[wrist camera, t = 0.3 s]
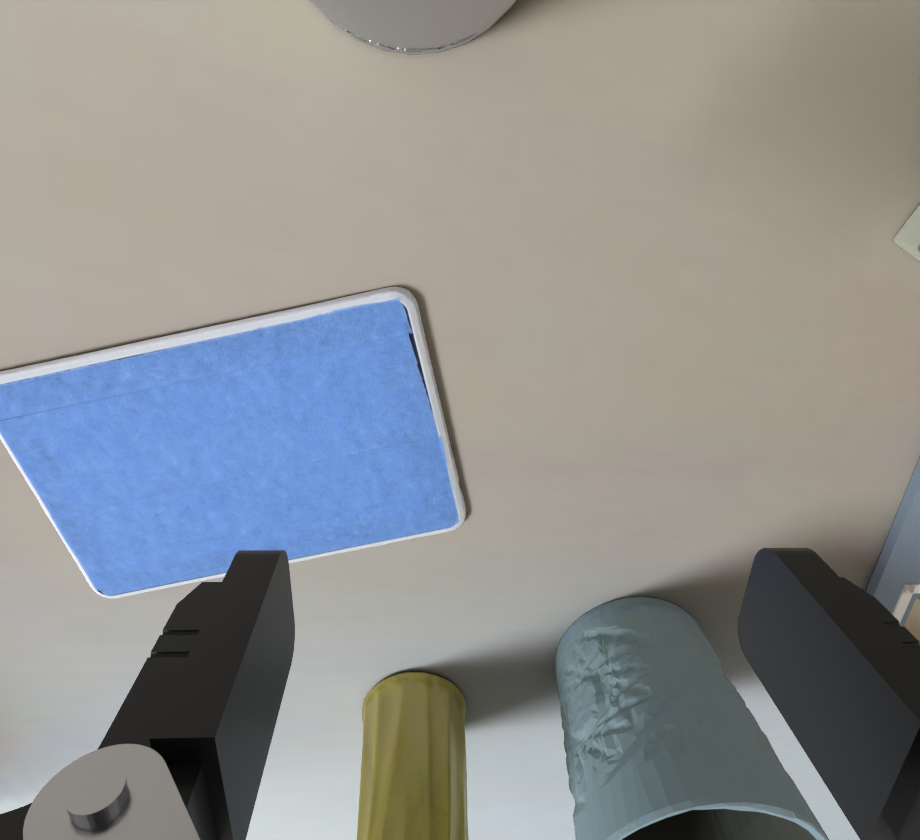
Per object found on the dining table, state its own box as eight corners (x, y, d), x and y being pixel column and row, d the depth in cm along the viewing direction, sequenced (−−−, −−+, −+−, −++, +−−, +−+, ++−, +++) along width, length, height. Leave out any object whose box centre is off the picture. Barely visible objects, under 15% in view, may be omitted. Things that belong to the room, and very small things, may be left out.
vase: (373, 662, 35) (342, 977, 22) (477, 677, 36) (505, 987, 23) (354, 734, 38) (317, 1053, 25) (452, 746, 38) (465, 1060, 26)
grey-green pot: (723, 687, 37) (842, 918, 27) (561, 731, 38) (614, 971, 28) (695, 562, 33) (825, 778, 22) (514, 615, 34) (554, 846, 23)
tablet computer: (413, 278, 26) (412, 285, 25) (469, 518, 32) (471, 533, 31) (-20, 371, 27) (-41, 382, 26) (109, 589, 33) (97, 607, 31)
